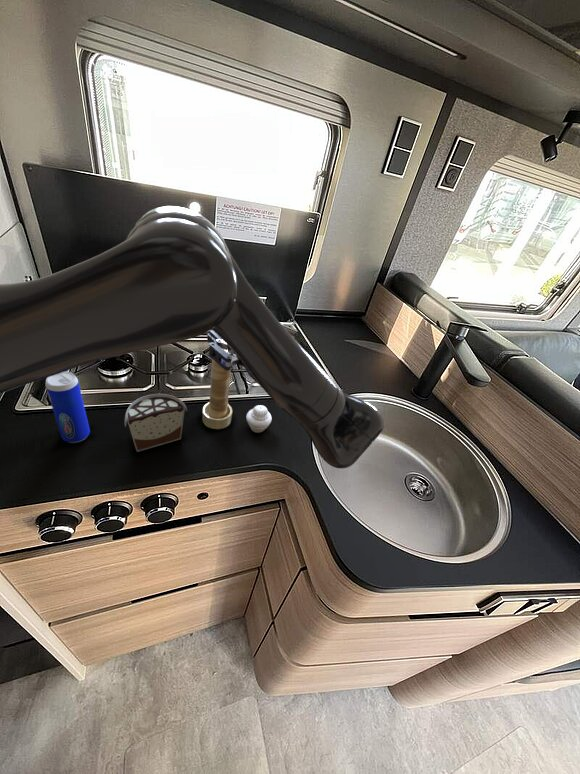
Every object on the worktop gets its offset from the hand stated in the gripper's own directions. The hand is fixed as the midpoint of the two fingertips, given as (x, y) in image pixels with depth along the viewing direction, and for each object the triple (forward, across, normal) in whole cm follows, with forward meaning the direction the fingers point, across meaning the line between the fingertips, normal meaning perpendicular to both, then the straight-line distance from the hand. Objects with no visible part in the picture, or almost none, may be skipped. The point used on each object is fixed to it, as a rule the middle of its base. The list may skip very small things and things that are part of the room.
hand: (228, 330), depth 66 cm
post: (+2, 0, +25) cm, 25 cm away
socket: (+2, 0, +26) cm, 26 cm away
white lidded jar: (-6, -7, +26) cm, 27 cm away
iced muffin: (+4, +15, +26) cm, 30 cm away
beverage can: (+12, +28, +26) cm, 40 cm away
